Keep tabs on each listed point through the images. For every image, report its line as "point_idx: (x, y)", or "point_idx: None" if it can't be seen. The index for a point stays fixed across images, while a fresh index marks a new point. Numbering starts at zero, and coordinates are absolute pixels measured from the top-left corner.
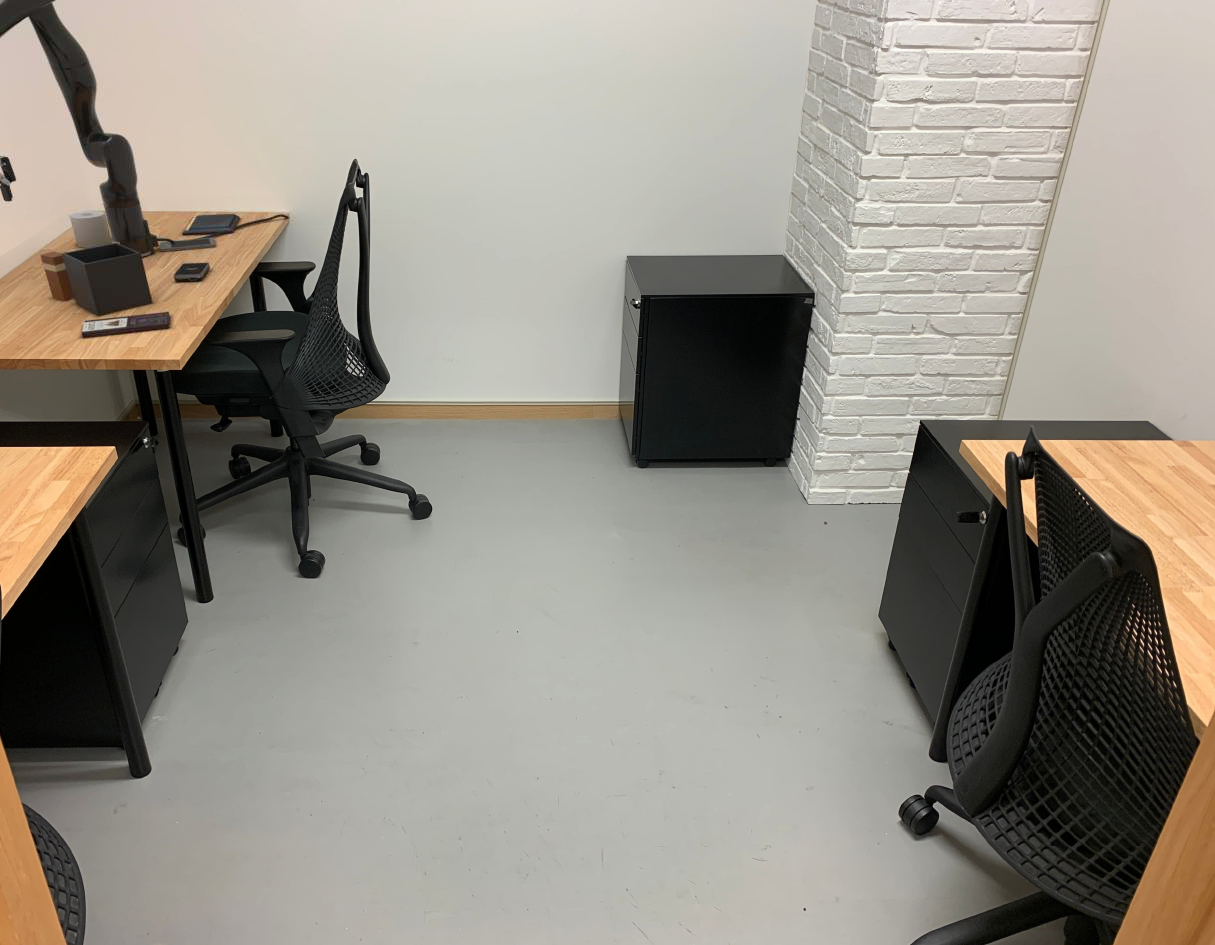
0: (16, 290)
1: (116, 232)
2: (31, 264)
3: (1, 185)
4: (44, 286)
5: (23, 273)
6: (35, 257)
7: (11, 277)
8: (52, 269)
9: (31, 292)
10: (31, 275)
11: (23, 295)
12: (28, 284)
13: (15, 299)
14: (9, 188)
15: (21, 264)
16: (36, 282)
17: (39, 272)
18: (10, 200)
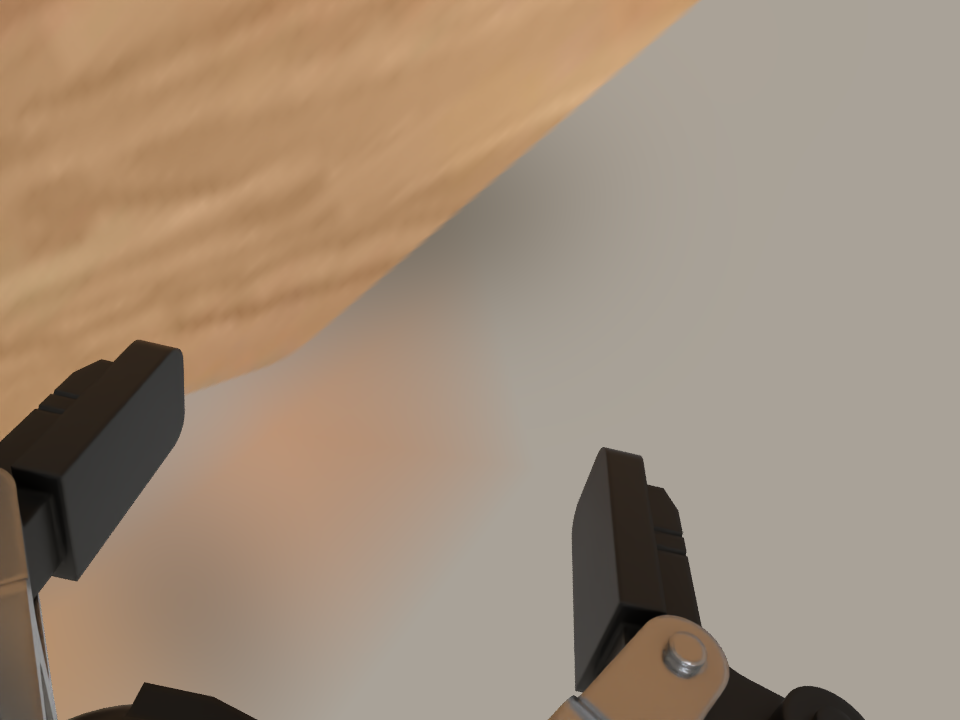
0: (501, 133)
1: None
2: None
3: (56, 558)
4: (393, 24)
5: (264, 303)
6: None
7: (334, 312)
8: None
9: (511, 13)
10: (271, 245)
11: (573, 17)
12: (394, 148)
13: (651, 5)
14: (10, 449)
15: None
16: (351, 131)
17: (217, 242)
18: (157, 346)
